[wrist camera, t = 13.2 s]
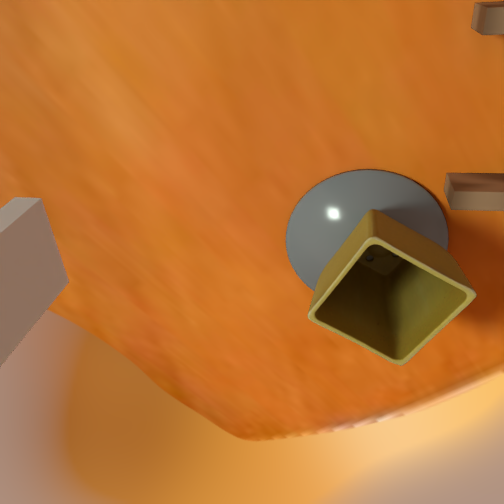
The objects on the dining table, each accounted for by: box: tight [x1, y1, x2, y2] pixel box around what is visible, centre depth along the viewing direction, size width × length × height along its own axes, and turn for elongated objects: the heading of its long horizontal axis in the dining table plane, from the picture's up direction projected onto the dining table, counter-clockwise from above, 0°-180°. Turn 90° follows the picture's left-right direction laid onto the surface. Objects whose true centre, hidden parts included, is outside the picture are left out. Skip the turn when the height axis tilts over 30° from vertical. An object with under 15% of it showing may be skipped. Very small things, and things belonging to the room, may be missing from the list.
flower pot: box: [308, 209, 477, 366], centre depth 38 cm, size 9×9×9 cm
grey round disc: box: [286, 169, 448, 291], centre depth 42 cm, size 14×14×1 cm
